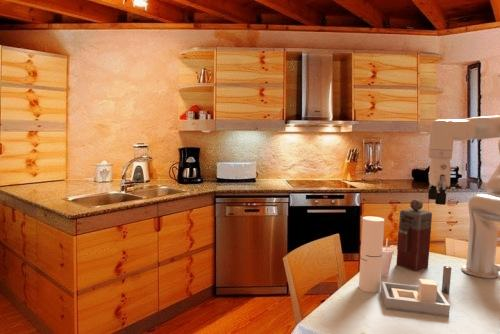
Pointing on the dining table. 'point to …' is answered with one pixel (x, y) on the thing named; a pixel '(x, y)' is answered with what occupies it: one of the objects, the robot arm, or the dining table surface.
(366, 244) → the cylindrical container
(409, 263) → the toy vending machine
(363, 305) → the dining table surface
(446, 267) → the post
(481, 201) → the robot arm
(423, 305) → the tray
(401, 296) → the beige stepped block
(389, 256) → the smoothie
